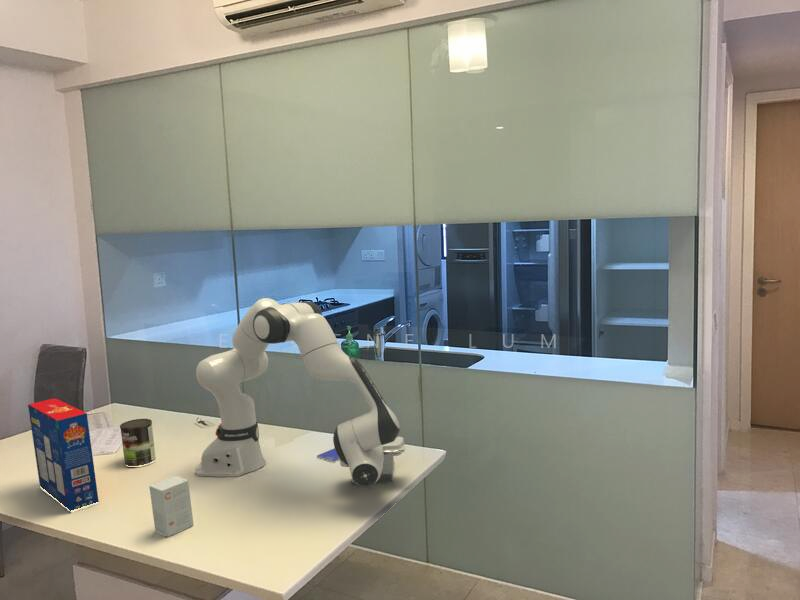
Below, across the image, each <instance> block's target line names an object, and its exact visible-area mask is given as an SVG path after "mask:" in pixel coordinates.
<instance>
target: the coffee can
mask: <svg viewBox="0 0 800 600" xmlns="http://www.w3.org/2000/svg"><path fill="white" fill-rule="evenodd" d="M152 423H153V420H152V419H149V418H135V419H131V420H128V421H124V422H122V423H121V424H120V425H119V429H120V433H121V441H122V450H123V452H122V453H123V458H124V465H125V464H126V465H128V466H139V465H144V464H148V463H150V462H152V461H154V460H155V459H156V460H157V457H156V452H155V451H156V449H155V441H154V432H153V424H152Z"/></svg>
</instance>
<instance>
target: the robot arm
mask: <svg viewBox="0 0 800 600" xmlns="http://www.w3.org/2000/svg"><path fill="white" fill-rule="evenodd" d="M291 341H293V342H295V344H296V345H297V348H298V350H299V352H300V353H299V354H300V356H301V358H302V361H303V364H304V365H305V368H306V370H307V372H308V374H309V375H310V376H312V377H313V378H315V379H317V380H321V381H324V382H325V381H326V382H327V381H328V382H331V381H335V382H336V381H348V382H351V383H353V384H354V385H356V386H357V388H358V389H359V391H360V393H361V394H362V396H363V397H364V399H365V400H366V402H367V404H368V406H369V407H370V411H368V412H366V413H363V414H361V415H359V416H355V418H350V419H349V420H346V421H344V422H342V423H340V424H337V425H336V427H335V430H334V431H333V437H332V439H333V440H332V441H333V446H334V448H335V450H336V452H337V454H338V459H339V464H340V466H341V468H342V467H343V468H344V467H345V468H349V473H350V476H351V480H352V479H353V481H354V482H355V483H356V484H355V485H358V486H361V487H365V488H366V487H370V486H373V485H375V484H376V482H377V481H378V480H379V478H380V476H381V473H382V469H383V460H384V457H387V456H393V457H397V456H401V455H402V453H405V452H406V448H405V439H404V437H402V436H398V435H399V434H400V430H401V427H400V423H399V420H398V418H397V415H395V413H394V412H393V410H392V409H390V406H388V404H387V403H386V401H385V400H384V397H382V395H381V393H380V391H379V390H378V388H377V387H376V385H375V384H374V382H373V381H372V378H371V377H370V376H369V374H368V373H367V370H366V369H365V368H364V366H363V365H362V363H361V362H360V361H359V359H357V358H356V357H355V356H349V355H347V354H346V352H344V351H343V350H342V347H341V346H340V344H339V342H338V339H337V337H336V335H335V333H334V331H333V329H332V326H331V325H330V324H329V322H328V321H327V319H326V318H325V316H323V314H322V310H321V309H320V307H319V306H318V305H317V304H316V303H314V302H310V301H299V302H287V303H283V304H280V303H279V302H278V301H276V300H275V299H272V298H269V297H263V298H260V299H257V301H256V302H255V303H253V305H251V307H250V308H249V309H248V310H247V311H246V312H245V315H244V316H243V317H242V319H241V321H240V322H239V324H238V326H236V328H235V331H234V332H233V334H232V336H231V342H232V345H233V348H232V349H230V350H227V351H224V352H223V351H222V352H220V353H216V354H211V355H210V356H208V357H206V358H203V359H201V361H200V362H198V364H197V366H196V370H195V376H196V377H195V378H196V379H197V382H198V384H199V386H201V388H203V389H205V390H207V391H208V392H210V393H211V395H213V396H214V398H215V400H216V402H217V404H218V410H219V414H220V415H219V416H220V422H221V423H219V424H218V425H217V428H216V431H215V436H216V438H215V439H214V440H213V441H211V443H210V444H208V446H206V448H205V449H204V450H203V451H202V455H201V459H200V461H201V462H199V463H198V464H197V465H196V467H195V469H194V474H195V476H197V477H225V478H226V477H232V478H233V477H234V478H237V477H240V476H243V475H244V474H247V473H251V472H254V471H257V470H259V469H261V468H262V467H263V466H265V464H266V459H265V458H264V456H263V452H262V449H261V445H260V440H259V439H260V431H259V430H260V429H259V423H258V421H257V417H256V407H255V401H254V398H252V397H251V396H250V395H249V394H246V393H243V392H242V390H241V388H240V384H241V383H243V382H247V381H250V380H254V379H255V378H258V377H259V376H260V375H263V374H264V373H266V371H267V369H268V367H269V356H268V354H267V352H266V349H267V348H268V346H269V345H270V344H271V345H272V344H280V343H285V342H291Z"/></svg>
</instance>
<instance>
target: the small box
mask: <svg viewBox="0 0 800 600" xmlns="http://www.w3.org/2000/svg"><path fill="white" fill-rule="evenodd" d="M149 493H150V494H149V496H150V500H151V501H150V502H151V509H152V516H153V524H154V531H155V532H156V531H157V532H159V533H161V534H160V535H162V534H163V535H162V536H164V535H165V536H164V537H166V536H167V537H166V538H169V537H171V535H172V536H173V534H174V535H176V534H178V533H180V532H182V531H185V530H186V529H189V528H190V527H193V526H194V519H193V510H192V509H193V508H192V501H191V493H190V485H189V480H188V479H186V478H184V477H181V476H178V475H173V476H171V477H169V478H167V479H163V480H162V481H159V482H156V483H153V484H151V485H149ZM157 532H156V533H157ZM159 533H158V534H159Z"/></svg>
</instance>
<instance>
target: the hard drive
mask: <svg viewBox="0 0 800 600" xmlns="http://www.w3.org/2000/svg"><path fill="white" fill-rule="evenodd" d="M318 458H319V459H318ZM316 459H318V460H322V459H323V460H322V461H325V460H326V462H329V461H330V462H329V463H332V462H333V464H335V463H336V461H337V462H340V460H339V459H338V454H337V452H336V450H335V447H334V448H331V449H329V450H327V451H325V452H322V453H320V454H317V455H316Z"/></svg>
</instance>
